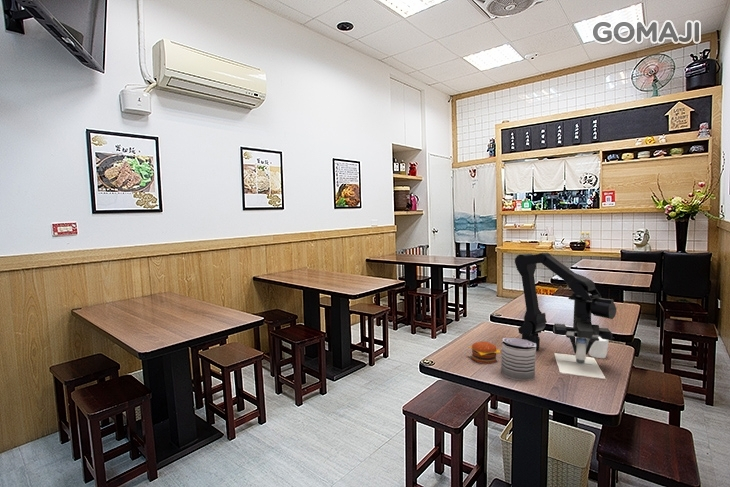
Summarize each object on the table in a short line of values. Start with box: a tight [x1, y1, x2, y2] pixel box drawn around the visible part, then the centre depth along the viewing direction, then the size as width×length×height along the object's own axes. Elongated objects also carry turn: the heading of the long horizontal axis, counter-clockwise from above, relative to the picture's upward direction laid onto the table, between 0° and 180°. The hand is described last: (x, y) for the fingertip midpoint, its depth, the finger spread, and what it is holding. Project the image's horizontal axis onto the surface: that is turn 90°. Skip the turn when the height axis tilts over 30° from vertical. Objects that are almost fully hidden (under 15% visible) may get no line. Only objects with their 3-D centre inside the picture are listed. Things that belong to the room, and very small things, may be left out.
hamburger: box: [468, 340, 502, 365], centre depth 150 cm, size 9×10×7 cm
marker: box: [574, 336, 587, 363], centre depth 145 cm, size 3×3×9 cm
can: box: [500, 337, 537, 382], centre depth 136 cm, size 11×11×12 cm
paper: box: [553, 352, 607, 380], centre depth 144 cm, size 14×20×1 cm
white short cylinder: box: [588, 336, 610, 359], centre depth 153 cm, size 7×7×7 cm
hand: (580, 353), depth 145 cm, fingers closed on marker, 3 cm apart
